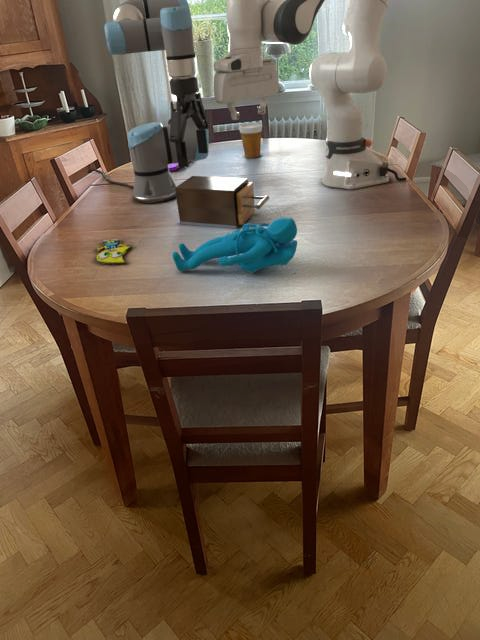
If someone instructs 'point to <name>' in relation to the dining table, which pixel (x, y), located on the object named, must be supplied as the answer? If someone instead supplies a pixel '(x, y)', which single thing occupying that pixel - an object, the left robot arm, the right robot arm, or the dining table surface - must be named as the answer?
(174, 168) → the musical instrument
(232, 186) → the cabinet
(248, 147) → the glass of beer
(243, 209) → the drawer
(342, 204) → the dining table surface
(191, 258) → the toy
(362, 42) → the right robot arm
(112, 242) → the toy
